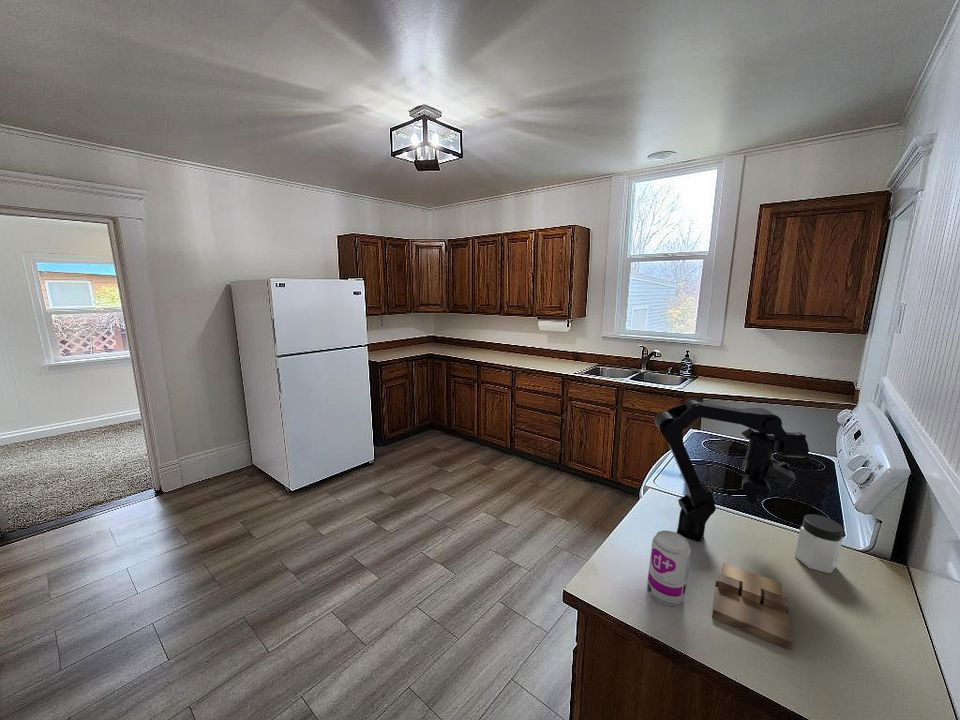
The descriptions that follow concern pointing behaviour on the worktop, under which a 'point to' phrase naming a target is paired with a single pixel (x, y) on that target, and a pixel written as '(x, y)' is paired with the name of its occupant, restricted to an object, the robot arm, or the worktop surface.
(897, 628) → the worktop surface
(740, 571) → the tan block
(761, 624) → the fixed leaf
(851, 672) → the worktop surface
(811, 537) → the jar
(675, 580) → the supplement can
